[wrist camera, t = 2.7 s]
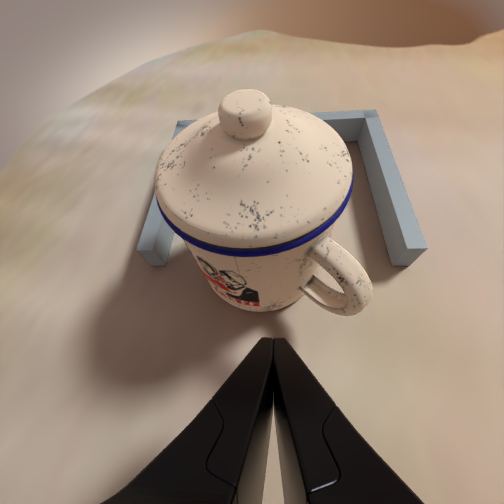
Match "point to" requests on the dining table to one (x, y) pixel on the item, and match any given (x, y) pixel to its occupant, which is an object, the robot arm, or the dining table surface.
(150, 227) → the dock
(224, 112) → the teacup with lid
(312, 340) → the dining table surface
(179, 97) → the dining table surface
